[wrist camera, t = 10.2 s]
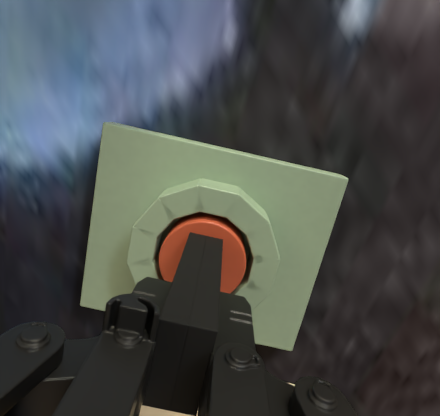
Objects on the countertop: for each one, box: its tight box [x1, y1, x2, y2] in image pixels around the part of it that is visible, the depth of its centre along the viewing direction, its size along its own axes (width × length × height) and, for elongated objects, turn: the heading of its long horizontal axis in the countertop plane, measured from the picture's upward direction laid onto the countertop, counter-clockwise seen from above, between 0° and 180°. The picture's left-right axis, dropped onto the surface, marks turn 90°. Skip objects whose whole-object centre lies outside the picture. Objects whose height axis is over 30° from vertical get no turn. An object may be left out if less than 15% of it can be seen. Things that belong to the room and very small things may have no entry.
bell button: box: [159, 212, 246, 293], centre depth 16 cm, size 4×4×2 cm
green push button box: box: [80, 122, 348, 351], centre depth 17 cm, size 12×10×3 cm
